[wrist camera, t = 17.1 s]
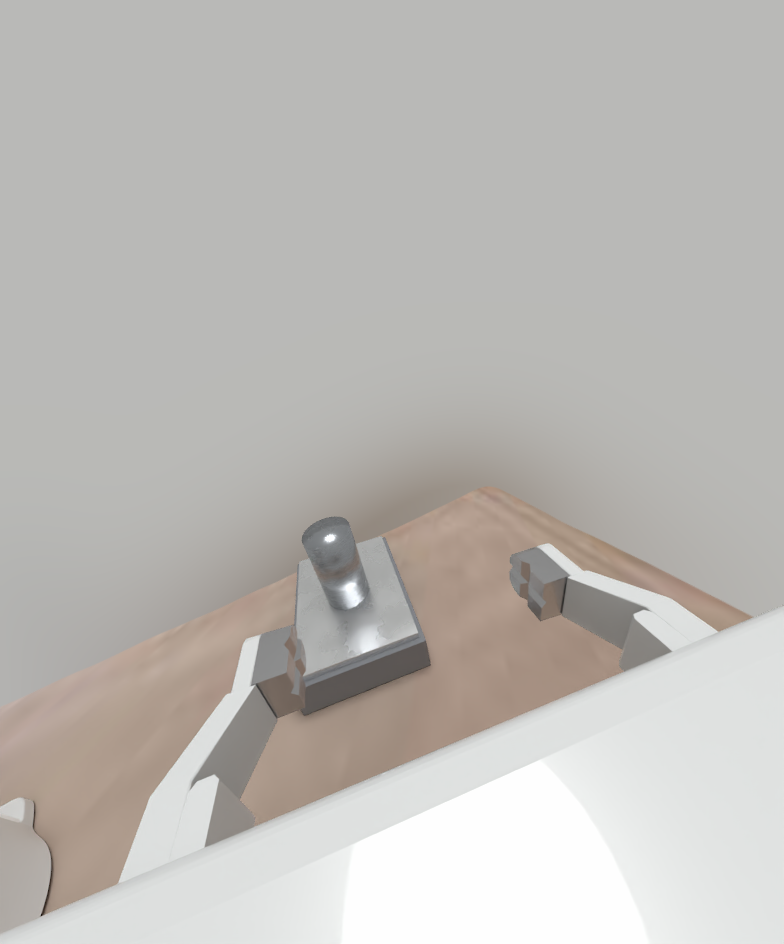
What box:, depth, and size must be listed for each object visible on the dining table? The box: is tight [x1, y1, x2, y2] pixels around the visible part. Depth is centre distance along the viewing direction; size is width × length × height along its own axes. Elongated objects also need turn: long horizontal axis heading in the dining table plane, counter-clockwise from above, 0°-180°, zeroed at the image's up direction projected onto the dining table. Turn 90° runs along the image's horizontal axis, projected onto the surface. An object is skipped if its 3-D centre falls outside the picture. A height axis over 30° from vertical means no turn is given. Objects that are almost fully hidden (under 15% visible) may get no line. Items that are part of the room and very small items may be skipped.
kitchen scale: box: [294, 536, 431, 715], centre depth 35 cm, size 13×18×5 cm
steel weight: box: [302, 517, 369, 610], centre depth 32 cm, size 5×5×9 cm
